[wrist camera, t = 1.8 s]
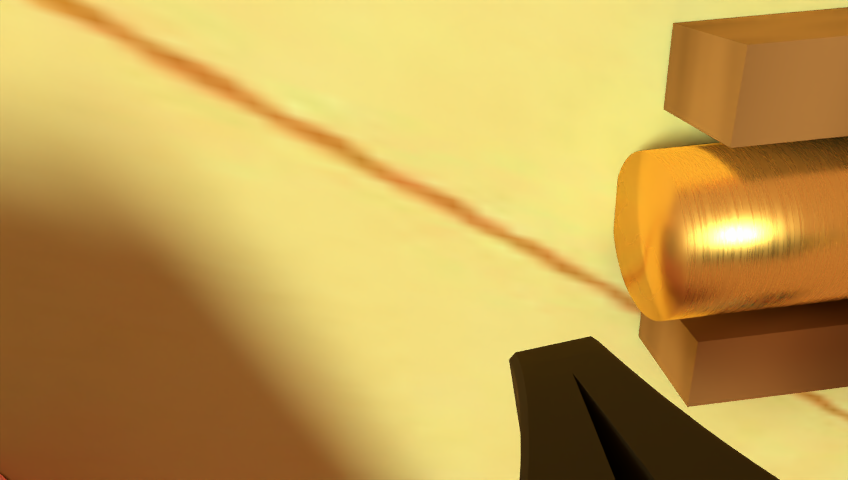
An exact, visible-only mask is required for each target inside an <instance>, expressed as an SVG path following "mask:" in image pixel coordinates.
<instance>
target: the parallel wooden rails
mask: <svg viewBox="0 0 848 480" xmlns="http://www.w3.org/2000/svg"><path fill="white" fill-rule="evenodd" d="M664 110H666V111H668V112H669V113H671V114H673V115H675V116H676V117H678V118H680V119H681V120H683V121H685V122H687V123H688V124H690V125H692V126H694V127H695V128H697V129H699V130H700V131H702V132H704V133H706V134H707V135H709V136H711V137H712V138H714V139H716V140H718V141H719V142H721V143H723V144H724V145H726V146H728V147H730V148H735V147H745V146H755V145H764V144H774V143H784V142H794V141H803V140H813V139H823V138H833V137H843V136H848V7H847V8H836V9H825V10H814V11H803V12H792V13H780V14H769V15H758V16H747V17H736V18H725V19H714V20H703V21H692V22H681V23H673V30H672V39H671V48H670V57H669V66H668V75H667V84H666V93H665V102H664ZM639 337H640V339H641V340H642V342H643V343H644V345H645V346H646V348H647V349H648V350H649V352H650V353H651V355H652V356H653V358H654V359H655V361H656V362H657V363H658V365H659V366H660V368H661V369H662V371H663V372H664V374H665V375H666V376H667V378H668V379H669V381H670V382H671V384H672V385H673V386H674V388H675V389H676V391H677V392H678V394H679V395H680V397H681V398H682V399H683V401H684V402H685V404H686V405H687V407H689V406H697V405H705V404H713V403H721V402H729V401H737V400H745V399H753V398H761V397H769V396H776V395H784V394H792V393H800V392H808V391H816V390H824V389H832V388H840V387H848V299H846V300H837V301H829V302H820V303H812V304H803V305H795V306H786V307H777V308H769V309H760V310H752V311H743V312H735V313H726V314H718V315H709V316H701V317H692V318H684V319H675V320H667V321H654V320H651V319H649V318H648V317H646V316H645V315H644V314H643V313H642V312H641V320H640V329H639Z"/></svg>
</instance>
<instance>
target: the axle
mask: <svg viewBox="0 0 848 480" xmlns="http://www.w3.org/2000/svg"><path fill="white" fill-rule="evenodd" d="M614 240H615V248H616V253H617V258H618V262H619V267H620V270H621V273H622V277H623V279H624V282H625V285H626V287H627V290H628V292H629V294H630V296H631V298H632V300H633V301H634V303H635V304H636V306H637V307H638V308H639V310H640V311H641V312H642V313H643V314H644V315H645V316H646V317H648V318H649V319H651V320H654V321H667V320H675V319H684V318H692V317H701V316H709V315H718V314H726V313H735V312H743V311H752V310H760V309H769V308H777V307H786V306H795V305H803V304H812V303H820V302H829V301H837V300H846V299H848V136H843V137H833V138H823V139H813V140H803V141H794V142H784V143H774V144H764V145H755V146H745V147H735V148H730V147H728V146H726V145H724V144H723V143H712V144H702V145H692V146H683V147H673V148H663V149H653V150H643V151H637V152H634V153H633V154H631V155H630V156H629V157H628V158H627V159H626V161H625V162H624V164H623V166H622V168H621V170H620V173H619V175H618V181H617V194H616V206H615V219H614Z"/></svg>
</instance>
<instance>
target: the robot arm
mask: <svg viewBox="0 0 848 480" xmlns="http://www.w3.org/2000/svg"><path fill="white" fill-rule="evenodd" d="M509 362H510V368H511V375H512V381H513V388H514V394H515V400H516V407H517V413H518V420H519V426H520V433H521V466H520V480H779V479H778V478H776V477H775V476H773V475H772V474H770V473H769V472H767V471H766V470H764V469H763V468H761V467H760V466H758V465H757V464H755V463H754V462H752V461H751V460H749V459H748V458H747V457H745V456H744V455H742V454H741V453H739V452H738V451H736V450H735V449H733V448H732V447H731V446H729V445H728V444H726V443H725V442H723V441H722V440H721V439H719V438H718V437H717V436H715V435H714V434H712V433H711V432H710V431H708V430H707V429H705V428H704V427H703V426H701V425H700V424H699V423H698V422H696V421H695V420H694V419H692V418H691V417H690V416H688V415H687V414H686V413H684V412H683V411H682V410H681V409H679V408H678V407H677V406H675V405H674V404H673V403H671V402H670V401H669V400H667V399H666V398H665V397H664V396H662V395H661V394H660V393H659V392H657V391H656V390H655V389H654V388H652V387H651V386H650V385H649V384H648V383H646V382H645V381H644V380H643V379H642V378H640V377H639V376H638V375H637V374H636V373H634V372H633V371H632V370H631V369H630V368H628V367H627V366H626V365H625V364H624V363H623V362H621V361H620V360H619V359H618V358H617V357H616V356H615V355H613V354H612V353H611V352H610V351H609V350H608V349H607V348H605V347H604V346H603V345H602V344H601V343H600V342H599V341H597V340H596V339H594V338H593V337H591V336H590V337H585V338H581V339H576V340H571V341H567V342H562V343H558V344H553V345H548V346H544V347H539V348H534V349H530V350H525V351H521V352H516V353H515V354H514V355H513V356H512V357H511V358H510V360H509Z"/></svg>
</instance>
